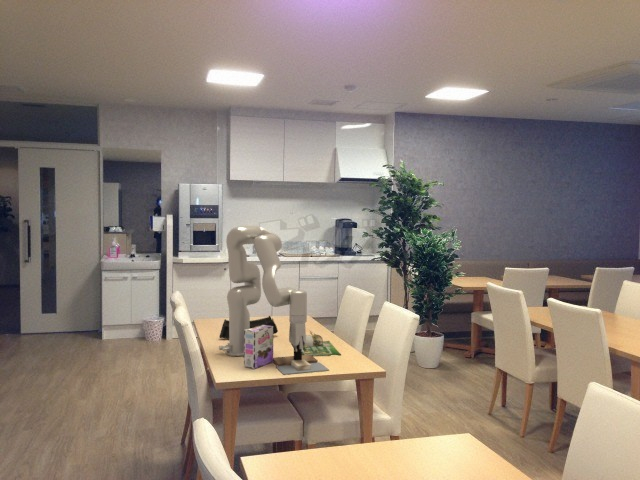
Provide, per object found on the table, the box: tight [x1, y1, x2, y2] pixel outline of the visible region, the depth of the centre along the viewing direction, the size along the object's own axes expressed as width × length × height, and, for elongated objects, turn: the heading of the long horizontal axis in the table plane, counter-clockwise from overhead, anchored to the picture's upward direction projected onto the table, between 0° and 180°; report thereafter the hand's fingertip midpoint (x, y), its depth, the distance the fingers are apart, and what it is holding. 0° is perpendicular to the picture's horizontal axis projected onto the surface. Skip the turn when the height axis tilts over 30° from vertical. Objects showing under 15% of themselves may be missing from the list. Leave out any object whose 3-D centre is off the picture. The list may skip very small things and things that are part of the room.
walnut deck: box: [272, 355, 319, 366], centre depth 250 cm, size 18×10×2 cm, turn 110°
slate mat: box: [275, 361, 330, 376], centre depth 240 cm, size 20×12×1 cm, turn 110°
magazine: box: [218, 315, 279, 339], centre depth 297 cm, size 17×3×30 cm
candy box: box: [243, 325, 274, 370], centre depth 246 cm, size 14×6×16 cm, turn 148°
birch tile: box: [291, 360, 311, 371], centre depth 241 cm, size 6×9×2 cm, turn 20°
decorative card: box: [291, 330, 342, 358], centre depth 277 cm, size 33×8×20 cm
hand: (297, 360), depth 246 cm, fingers closed
